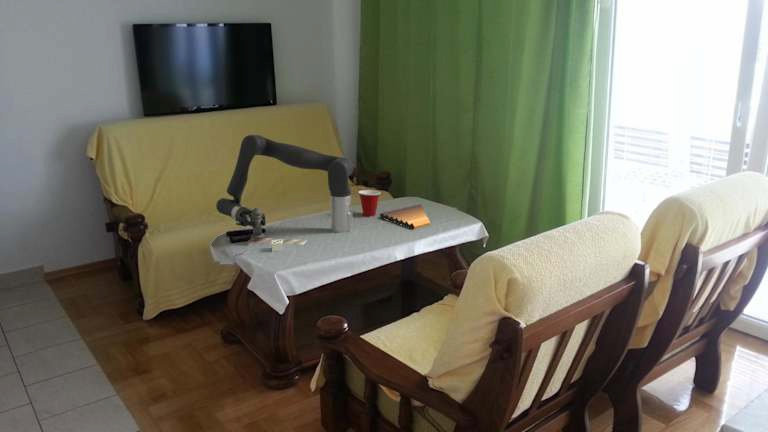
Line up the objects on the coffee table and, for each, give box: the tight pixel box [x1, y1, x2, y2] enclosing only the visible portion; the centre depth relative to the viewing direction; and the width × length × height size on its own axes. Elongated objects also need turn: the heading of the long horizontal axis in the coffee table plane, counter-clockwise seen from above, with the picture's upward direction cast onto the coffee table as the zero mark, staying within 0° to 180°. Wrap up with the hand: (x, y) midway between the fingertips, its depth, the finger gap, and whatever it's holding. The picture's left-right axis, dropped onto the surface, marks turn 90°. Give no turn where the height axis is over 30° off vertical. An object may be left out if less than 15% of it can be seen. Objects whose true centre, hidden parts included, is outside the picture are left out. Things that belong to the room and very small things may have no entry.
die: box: [271, 238, 284, 252], centre depth 251 cm, size 4×4×5 cm
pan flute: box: [379, 204, 431, 230], centre depth 296 cm, size 25×3×25 cm
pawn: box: [251, 207, 265, 239], centre depth 260 cm, size 5×5×13 cm
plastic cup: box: [358, 189, 381, 217], centre depth 300 cm, size 11×11×12 cm
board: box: [245, 237, 308, 246], centre depth 261 cm, size 26×8×1 cm, turn 81°
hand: (259, 224), depth 258 cm, fingers closed on pawn, 3 cm apart
